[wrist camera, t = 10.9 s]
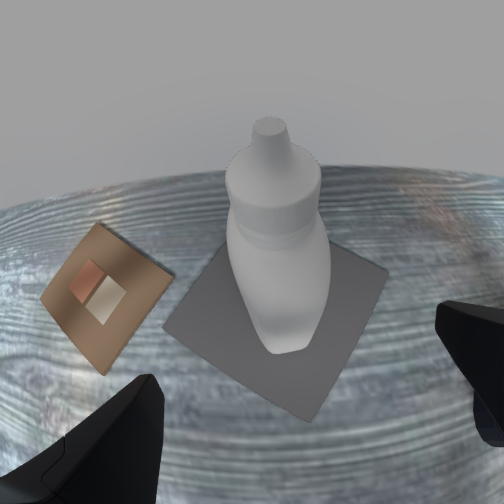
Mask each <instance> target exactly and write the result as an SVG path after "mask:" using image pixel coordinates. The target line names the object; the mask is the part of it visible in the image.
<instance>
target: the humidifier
mask: <svg viewBox="0 0 504 504" xmlns="http://www.w3.org/2000/svg"><path fill="white" fill-rule="evenodd" d="M473 413H474V418H475V423H476V428H477V430H478V432H479V434H480V436H481V438H482V439H483V441H485V442H486V443H488V444H489V445H491V446H493V447H504V434H503V432H502V430H501V429H500V427H499V426H498V424H497V423H496V421H495V419H494V418H493V416H492V415H491V413H490V412H489V410H488V409H487V407H486V406H485V404H484V403H483V401H482V400H481V399H480V397H479V396H478V394H477V393H476V391H475V390H474V407H473Z"/></svg>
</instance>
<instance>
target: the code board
mask: <svg viewBox="0 0 504 504" xmlns="http://www.w3.org/2000/svg"><path fill="white" fill-rule="evenodd" d="M173 280H174V277H173V276H171V275H170V274H168V273H167V272H165V271H164V270H162V269H161V268H160V267H158V266H157V265H155V264H154V263H152V262H151V261H149V260H148V259H147V258H145V257H144V256H142V255H141V254H139V253H138V252H137V251H135V250H134V249H132V248H131V247H130V246H128V245H127V244H126V243H124V242H123V241H121V240H120V239H119V238H117V237H116V236H115V235H113V234H112V233H111V232H109V231H108V230H107V229H105V228H104V227H103V226H101V225H100V224H99V223H97V222H96V224H95V225H94V226H93V227H92V228H91V230H90V231H89V232H88V233H87V235H86V236H85V237H84V238H83V239H82V241H81V242H80V243H79V245H78V246H77V247H76V248H75V250H74V251H73V252H72V254H71V255H70V256H69V257H68V259H67V260H66V261H65V263H64V264H63V266H62V267H61V268H60V270H59V271H58V272H57V274H56V275H55V277H54V278H53V279H52V281H51V282H50V284H49V285H48V287H47V288H46V290H45V291H44V293H43V294H42V296H41V297H40V300H41V302H42V303H43V305H44V306H45V307H46V309H47V310H48V312H49V313H50V314H51V316H52V317H53V318H54V320H55V321H56V322H57V324H58V325H59V326H60V328H61V329H62V330H63V331H64V333H65V334H66V335H67V336H68V338H69V339H70V340H71V341H72V342H73V344H74V345H75V346H76V347H77V348H78V349H79V351H80V352H81V353H82V354H83V355H84V356H85V358H86V359H87V360H88V361H89V362H90V363H91V364H92V365H93V366H94V367H95V369H96V370H97V371H98V372H99V373H100V374H101V375H103V376H105V374H106V373H107V372H108V370H109V369H110V367H111V366H112V364H113V363H114V361H115V360H116V358H117V357H118V356H119V354H120V353H121V351H122V350H123V348H124V347H125V346H126V344H127V343H128V341H129V340H130V339H131V337H132V336H133V334H134V333H135V332H136V330H137V329H138V327H139V326H140V325H141V323H142V322H143V320H144V319H145V318H146V316H147V315H148V314H149V312H150V311H151V309H152V308H153V307H154V305H155V304H156V303H157V301H158V300H159V299H160V297H161V296H162V295H163V293H164V292H165V291H166V289H167V288H168V287H169V285H170V284H171V283H172V281H173Z"/></svg>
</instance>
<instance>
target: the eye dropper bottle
mask: <svg viewBox="0 0 504 504" xmlns="http://www.w3.org/2000/svg"><path fill="white" fill-rule="evenodd" d="M225 172H226V173H225V184H226V188H227V192H228V196H229V200H230V203H231V206H230V209H229V213H228V219H227V231H226V232H227V248H228V254H229V259H230V263H231V267H232V270H233V273H234V276H235V279H236V282H237V284H238V287H239V290H240V292H241V295H242V297H243V300H244V303H245V305H246V308H247V310H248V313H249V315H250V318H251V320H252V323H253V325H254V328H255V330H256V332H257V334H258V336H259V338H260V340H261V342H262V343H263V345H264V346H265V347H266V349H267V350H268V351H269V352H271V353H272V354H282V353H287V352H292V351H297V350H301V349H303V348H305V347H307V345H308V344H309V342H310V340H311V338H312V336H313V334H314V332H315V330H316V327H317V325H318V323H319V321H320V318H321V316H322V313H323V311H324V308H325V305H326V301H327V297H328V292H329V285H330V276H331V256H330V247H329V241H328V236H327V232H326V229H325V226H324V223H323V221H322V218H321V216H320V214H319V212H318V203H319V195H320V187H321V179H322V178H321V177H322V174H321V170H320V166H319V163H317V160H316V159H315V158H314V156H312V154H310V153H309V152H308V151H307V150H305V149H304V148H302V147H300V146H298V145H295V144H293V143H291V142H290V138H289V135H288V131H287V127H286V124H285V122H284V121H283V120H281V119H279V118H276V117H265V118H261V119H259V120H257V121H256V122H255V123H254V125H253V132H252V141H251V146H248V147H246V148H245V149H243V150H241V151H240V152H239V153H238V154H236V155H235V156H234V158H233V159H232V160H231V161H230V163H229V164H228V167H227V170H226V171H225Z"/></svg>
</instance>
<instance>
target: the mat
mask: <svg viewBox="0 0 504 504" xmlns="http://www.w3.org/2000/svg"><path fill="white" fill-rule="evenodd" d="M329 247H330V256H331V276H330V285H329V292H328V297H327V301H326V305H325V308H324V311H323V313H322V316H321V318H320V321H319V323H318V325H317V327H316V330H315V332H314V334H313V336H312V338H311V340H310V342H309V344H308V345H307V347H305V348H303V349H301V350H297V351H292V352H287V353H282V354H272V353H271V352H269V351H268V350H267V349H266V347H265V346H264V345H263V343H262V342H261V340H260V338H259V336H258V334H257V332H256V330H255V328H254V325H253V323H252V320H251V318H250V315H249V313H248V310H247V308H246V305H245V303H244V300H243V297H242V295H241V292H240V290H239V287H238V284H237V282H236V279H235V276H234V273H233V270H232V267H231V263H230V259H229V254H228V248H227V241H226V242H225V244H224V245H223V246H222V247H221V249H220V250H219V251H218V253H217V254H216V255H215V257H214V258H213V259H212V261H211V262H210V263H209V265H208V266H207V267H206V269H205V270H204V271H203V273H202V274H201V275H200V277H199V278H198V279H197V281H196V282H195V283H194V285H193V286H192V287H191V289H190V290H189V291H188V293H187V294H186V296H185V297H184V298H183V300H182V301H181V302H180V304H179V305H178V306H177V308H176V309H175V311H174V312H173V313H172V315H171V316H170V317H169V319H168V320H167V321H166V323H165V324H164V326H163V327H162V328H163V329H164V330H165V331H166V332H168V333H169V334H170V335H172V336H173V337H174V338H176V339H177V340H178V341H180V342H181V343H182V344H184V345H185V346H186V347H188V348H189V349H191V350H192V351H193V352H195V353H196V354H198V355H199V356H200V357H202V358H203V359H205V360H206V361H208V362H209V363H210V364H212V365H213V366H215V367H216V368H218V369H219V370H221V371H222V372H224V373H225V374H227V375H228V376H230V377H231V378H233V379H235V380H236V381H238V382H239V383H241V384H242V385H244V386H246V387H247V388H249V389H250V390H252V391H254V392H255V393H257V394H259V395H260V396H262V397H264V398H265V399H267V400H269V401H270V402H272V403H274V404H275V405H277V406H279V407H281V408H282V409H284V410H286V411H288V412H290V413H291V414H293V415H295V416H297V417H299V418H301V419H302V420H304V421H306V422H308V423H310V422H311V421H312V419H313V418H314V416H315V415H316V413H317V412H318V410H319V409H320V407H321V405H322V404H323V402H324V401H325V399H326V397H327V396H328V394H329V392H330V391H331V389H332V387H333V386H334V384H335V382H336V380H337V379H338V377H339V375H340V373H341V372H342V370H343V368H344V366H345V364H346V363H347V361H348V359H349V357H350V355H351V353H352V351H353V350H354V348H355V346H356V344H357V342H358V340H359V338H360V336H361V334H362V332H363V330H364V328H365V326H366V324H367V322H368V320H369V317H370V315H371V313H372V311H373V309H374V307H375V304H376V302H377V300H378V298H379V295H380V293H381V291H382V289H383V286H384V284H385V282H386V279H387V277H388V274H389V272H387V271H385V270H384V269H382V268H380V267H378V266H376V265H374V264H372V263H370V262H368V261H366V260H364V259H362V258H360V257H358V256H356V255H354V254H352V253H350V252H348V251H346V250H344V249H342V248H340V247H338V246H336V245H334V244H332V243H330V242H329Z"/></svg>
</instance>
